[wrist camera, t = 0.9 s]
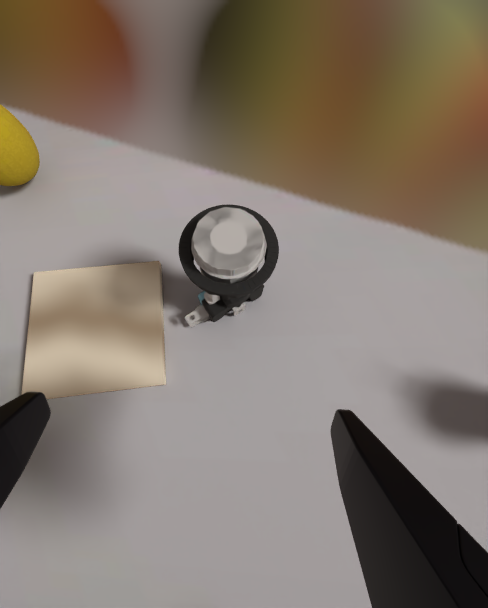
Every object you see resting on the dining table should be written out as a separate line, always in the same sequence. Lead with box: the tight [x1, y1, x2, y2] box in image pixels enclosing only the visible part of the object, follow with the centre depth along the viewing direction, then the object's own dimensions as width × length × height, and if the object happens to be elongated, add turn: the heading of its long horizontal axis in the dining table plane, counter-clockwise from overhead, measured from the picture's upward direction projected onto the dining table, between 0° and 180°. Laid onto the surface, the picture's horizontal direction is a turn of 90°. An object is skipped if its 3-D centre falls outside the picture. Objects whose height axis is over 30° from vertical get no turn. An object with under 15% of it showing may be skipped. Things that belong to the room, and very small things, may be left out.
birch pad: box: [22, 261, 166, 399], centre depth 22 cm, size 10×10×1 cm
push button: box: [179, 205, 279, 327], centre depth 19 cm, size 7×5×10 cm
